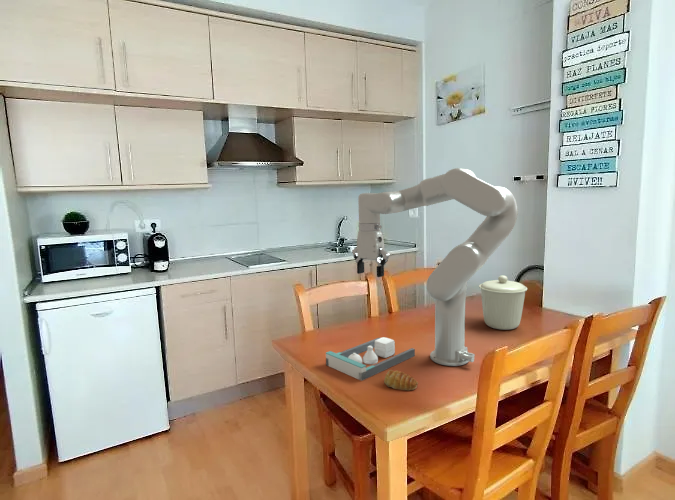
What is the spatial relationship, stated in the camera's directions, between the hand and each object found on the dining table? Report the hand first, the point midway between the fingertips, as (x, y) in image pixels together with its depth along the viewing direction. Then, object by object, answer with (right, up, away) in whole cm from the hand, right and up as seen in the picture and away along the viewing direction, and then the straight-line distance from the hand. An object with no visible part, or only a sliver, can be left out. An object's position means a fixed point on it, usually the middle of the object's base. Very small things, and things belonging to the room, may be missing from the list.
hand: (370, 274), depth 149 cm
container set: (-1, -29, -11) cm, 31 cm away
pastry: (+6, -31, -28) cm, 42 cm away
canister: (+55, -22, +19) cm, 63 cm away
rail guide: (-1, -28, -11) cm, 30 cm away
